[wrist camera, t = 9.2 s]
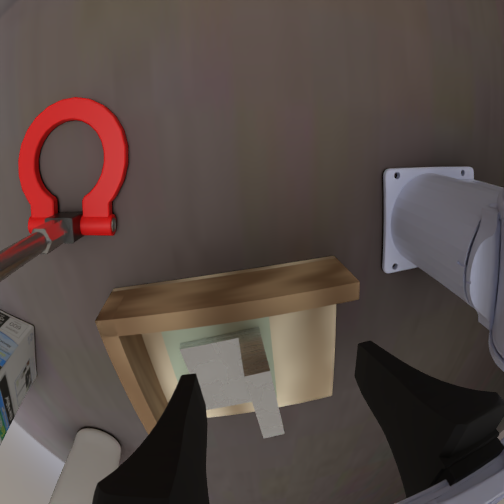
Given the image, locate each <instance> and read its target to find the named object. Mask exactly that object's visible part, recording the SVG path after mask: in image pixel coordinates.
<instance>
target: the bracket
mask: <svg viewBox="0 0 504 504" xmlns="http://www.w3.org/2000/svg"><path fill="white" fill-rule="evenodd" d="M180 352H181V354H182V357H183V359H184V361H185V364H186V366H187V369H188V371H189V373H190V374H195V373H196V375H197V378H198V382H199V385H200V388H201V391H202V394H203V398H204V401H205V404H206V410H210V409H216V408H222V407H227V406H233V405H238V404H243V403H248V402H252V403H253V406H254V409H255V413H256V416H257V419H258V422H259V425H260V428H261V431H262V435H263V438H268V437H272V436H277V435H281V434H285V433H284V429H283V424H282V420H281V416H280V411H279V407H278V403H277V398H276V394H275V389H274V385H273V381H272V376H271V372H270V368H269V364H268V360H267V356H266V353H265V349H264V345H263V341H262V337H261V333H260V329H259V327H255V328H251V329H247V330H242V331H238V332H233V333H228V334H224V335H219V336H214V337H209V338H204V339H199V340H194V341H189V342H184V343H180Z"/></svg>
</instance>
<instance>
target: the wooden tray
mask: <svg viewBox="0 0 504 504" xmlns="http://www.w3.org/2000/svg"><path fill="white" fill-rule="evenodd" d="M359 287H360V282H359V281H358V280H357V279H356V278H355V277H354V276H353V275H352V274H351V272H350V271H349V270H348V269H347V268H346V267H345V266H344V265H343V264H342V263H341V262H340V261H339V260H338V259H337V258H334V259H328V260H322V261H316V262H310V263H303V264H297V265H291V266H285V267H278V268H272V269H265V270H259V271H252V272H246V273H239V274H233V275H226V276H219V277H213V278H206V279H199V280H192V281H185V282H178V283H171V284H164V285H157V286H150V287H142V288H135V289H127V290H120V291H112V292H111V294H110V296H109V298H108V299H107V301H106V303H105V304H104V306H103V308H102V310H101V311H100V313H99V315H98V317H97V318H96V320H95V323H96V325H97V328H98V330H99V333H100V335H101V338H102V340H103V343H104V345H105V347H106V350H107V352H108V354H109V357H110V359H111V361H112V364H113V366H114V368H115V370H116V372H117V375H118V377H119V379H120V381H121V383H122V385H123V387H124V389H125V391H126V393H127V395H128V397H129V399H130V401H131V403H132V405H133V407H134V409H135V411H136V413H137V415H138V416H139V418H140V420H141V422H142V424H143V425H144V427H145V429H146V431H147V433H148V434H150V432H151V431H152V429H153V428H154V427H155V425H156V423H157V422H158V420H159V419H160V417H161V415H162V414H163V412H164V410H165V408H166V406H167V405H168V402H167V400H166V397H165V395H164V393H163V390H162V388H161V385H160V383H159V380H158V378H157V375H156V373H155V370H154V367H153V365H152V362H151V359H150V357H149V354H148V351H147V349H146V346H145V343H144V340H143V337H142V334H146V333H155V332H164V331H172V330H181V329H189V328H196V327H204V326H211V325H218V324H225V323H232V322H239V321H245V320H251V319H258V318H264V317H270V316H276V315H281V314H287V313H293V312H298V311H303V310H309V309H314V308H319V307H324V306H329V305H334V304H339V303H344V302H349V301H353V300H358V299H359Z"/></svg>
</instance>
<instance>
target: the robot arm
mask: <svg viewBox="0 0 504 504" xmlns="http://www.w3.org/2000/svg"><path fill="white" fill-rule="evenodd" d="M461 171H462V174H461ZM395 173H397V177H396V178H395V177H394V174H395ZM383 187H384V233H383V261H382V269H383V271H384V272H386V273H393V272H398V271H402V270H407V269H411V268H416V267H419V268H420V269H422V270H423V271H424V272H426V273H427V274H429V275H430V276H431V277H433V278H434V279H436V280H437V281H438V282H440V283H441V284H442V285H444V286H445V287H446V288H448V289H449V290H450V291H452V292H453V293H454V294H456V295H457V296H458V297H460V298H461V299H462V300H464V301H465V302H466V303H468V304H469V305H470V306H472V307H473V308H474V309H475V310H476V311H477V313H478V321H479V322H480V323H481V324H482V325H483V326H485V327H486V328H487V329H488V330H489V331H490V333H489V341H488V343H489V350H490V353H491V356H492V358H493V360H494V362H495V363H496V364H497V365H498V367H499V368H500V369H501V370H503V371H504V188H503V187H500V186H496V185H492V184H489V183H485V182H482V181H478V180H474V171H473V168H472V167H468V166H461V167H412V168H389V169H386V170H385V171H384V173H383ZM393 264H395V266H394V267H393V268H392V266H393ZM355 378H356V381H357V383H358V386H359V388H360V391H361V393H362V395H363V397H364V399H365V400H366V402H367V404H368V406H369V407H370V409H371V411H372V412H373V414H374V416H375V417H376V419H377V421H378V423H379V424H380V426H381V428H382V430H383V432H384V434H385V436H386V438H387V440H388V443H389V445H390V448H391V450H392V453H393V455H394V458H395V461H396V463H397V466H398V469H399V473H400V476H401V479H402V482H403V486H404V489H405V493H406V497H407V499H404V500H402V501H400V502H397V503H395V504H497V503H498V502H499V501H501V500H502V499H503V498H504V438H503V439H502V440H501V441H500V440H499V439H498V438H497V437H498V436H499V432H498V431H497V430H496V428H497V426H498V425H499V423H500V422H501V420H502V418H503V417H504V400H503V399H502V398H501V397H500V396H499V395H498V394H497V393H496V392H487V391H478V390H473V389H468V388H463V387H459V386H456V385H453V384H450V383H446V382H444V381H441V380H438V379H436V378H433V377H431V376H429V375H427V374H424V373H422V372H420V371H419V370H417V369H415V368H413V367H411V366H409V365H408V364H406V363H404V362H403V361H401V360H399V359H398V358H396V357H395V356H393V355H391V354H390V353H388V352H387V351H385V350H384V349H382V348H381V347H379V346H378V345H376V344H375V343H373V342H372V341H367V342H363V343H359V344H358V350H357V360H356V369H355ZM206 448H207V413H206V404H205V401H204V398H203V394H202V391H201V388H200V385H199V382H198V378H197V375H196V373H195V374H185V375H182V376H181V377H180V379H179V382H178V384H177V386H176V388H175V391H174V393H173V395H172V397H171V399H170V401H169V403H168V405H167V406H166V408H165V410H164V412H163V414H162V415H161V417H160V419H159V420H158V422H157V423H156V425H155V427H154V428H153V429H152V431H151V432H150V434H149V435H148V436H147V438H146V439H145V440H144V441H143V443H142V444H141V445H140V446H139V447H138V448H137V450H136V451H135V452H134V453H133V454H132V455H131V456H130V457H129V458H128V459H127V460H126V461H125V462H124V463H122V464H121V465H120V466H119V467H118V468H117V469H116V470H115V471H113V472H112V473H111V474H109V475H108V476H106V477H105V478H104V479H102V480H101V481H99V482H98V483H97V486H96V489H95V491H94V496H93V501H92V504H209V497H208V488H207V478H206Z"/></svg>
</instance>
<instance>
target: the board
mask: <svg viewBox="0 0 504 504" xmlns="http://www.w3.org/2000/svg"><path fill="white" fill-rule="evenodd" d="M334 258H336V257H335V256H329V257H322V258H316V259H310V260H304V261H297V262H291V263H285V264H278V265H272V266H265V267H259V268H252V269H246V270H239V271H233V272H226V273H219V274H213V275H206V276H199V277H192V278H185V279H178V280H171V281H164V282H157V283H150V284H143V285H136V286H128V287H121V288H114V289H113V291H120V290H127V289H135V288H142V287H150V286H157V285H164V284H171V283H178V282H185V281H192V280H199V279H206V278H213V277H219V276H226V275H233V274H239V273H246V272H252V271H259V270H265V269H272V268H278V267H285V266H291V265H297V264H303V263H310V262H316V261H322V260H328V259H334ZM255 327H259V329H260V333H261V337H262V341H263V345H264V349H265V353H266V356H267V360H268V364H269V368H270V372H271V376H272V381H273V385H274V389H275V394H276V398H277V403H278V407H283V406H288V405H293V404H297V403H302V402H307V401H311V400H315V399H320V398H324V397H328V396H332V388H333V373H334V355H335V331H336V304H334V305H329V306H324V307H319V308H314V309H309V310H303V311H298V312H293V313H287V314H281V315H276V316H270V317H264V318H258V319H251V320H245V321H239V322H232V323H225V324H218V325H211V326H204V327H196V328H189V329H181V330H172V331H164V332H155V333H146V334H142V337H143V340H144V343H145V346H146V349H147V351H148V354H149V357H150V359H151V362H152V365H153V367H154V370H155V373H156V375H157V378H158V380H159V383H160V385H161V388H162V390H163V393H164V395H165V397H166V400H167V402H168V403H169V401H170V399H171V397H172V395H173V393H174V391H175V388H176V386H177V384H178V382H179V379H180V377H181V376H182V375H185V374H190V373H189V371H188V369H187V366H186V364H185V361H184V359H183V357H182V354H181V352H180V343H184V342H189V341H194V340H199V339H204V338H209V337H214V336H219V335H224V334H228V333H233V332H238V331H242V330H247V329H251V328H255ZM254 411H255V409H254V406H253V403H252V402H248V403H243V404H238V405H233V406H227V407H222V408H216V409H210V410H206V413H207V418H209V417H218V416H226V415H234V414H241V413H248V412H254Z"/></svg>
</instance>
